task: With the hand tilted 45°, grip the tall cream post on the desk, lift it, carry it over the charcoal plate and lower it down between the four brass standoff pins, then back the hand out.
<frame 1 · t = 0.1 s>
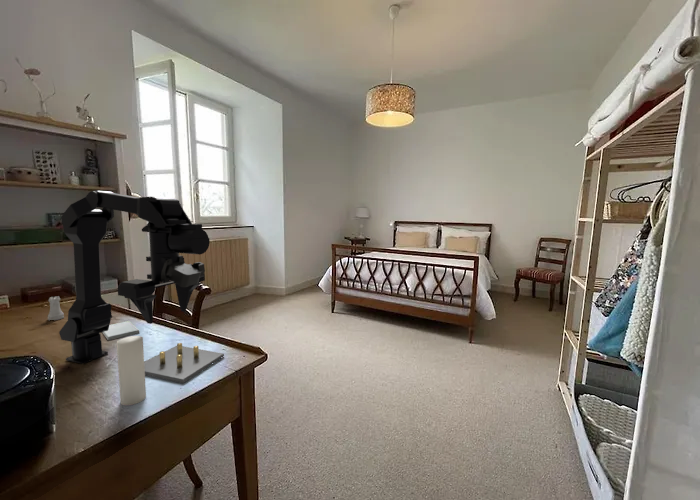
hand: (167, 317, 72), 15 cm above the table, tool pointing down, fingers open, 9 cm apart
charcoal plate: (180, 364, 79), on the table
rook chess piece: (56, 319, 110), on the table
hard drive: (119, 333, 100), on the table
cream post: (133, 399, 64), on the table
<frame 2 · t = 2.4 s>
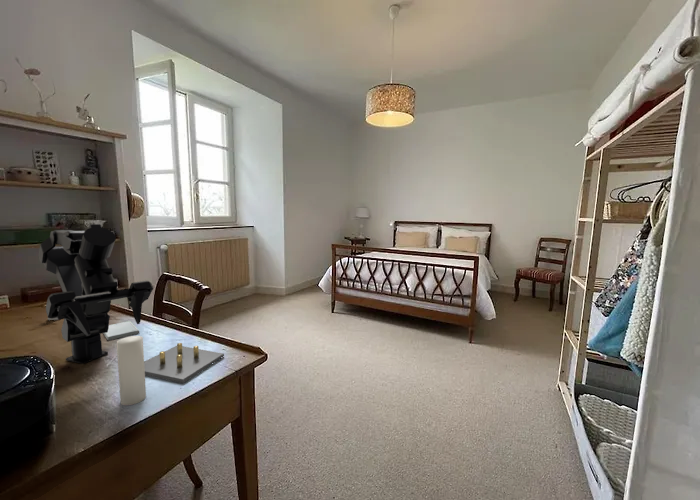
hand: (115, 328, 67), 13 cm above the table, tool tilted 45°, fingers open, 9 cm apart
nothing on the table moved.
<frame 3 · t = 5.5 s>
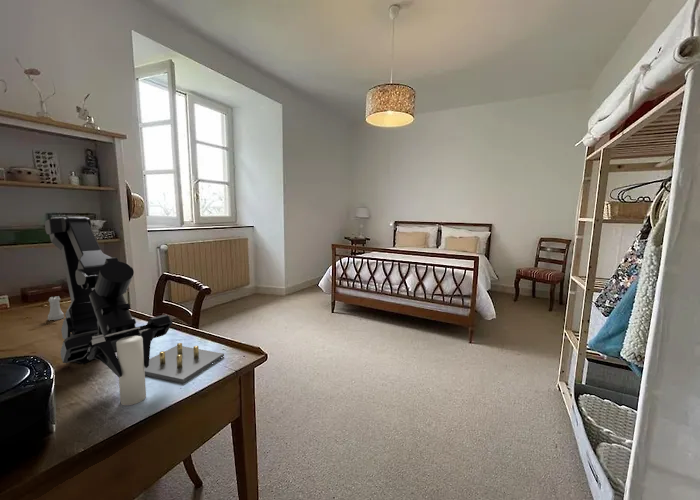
hand: (134, 371, 63), 7 cm above the table, tool tilted 45°, fingers closed on cream post, 4 cm apart
cream post: (133, 399, 64), on the table, touching gripper
everything else where it was.
when the fingers open (9 cm above the table, at t = 10.1 s): cream post drops 1 cm, resting on charcoal plate.
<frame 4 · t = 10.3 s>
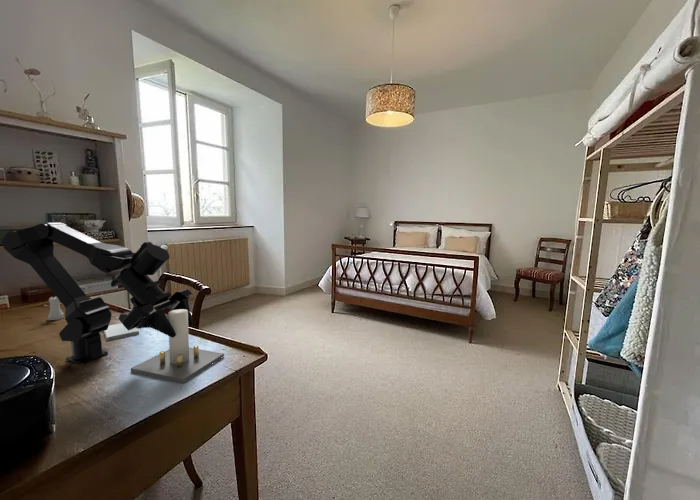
hand: (183, 331, 78), 9 cm above the table, tool tilted 45°, fingers open, 7 cm apart
cream post: (179, 360, 79), point 1 cm above the table, touching charcoal plate
everything else where it was.
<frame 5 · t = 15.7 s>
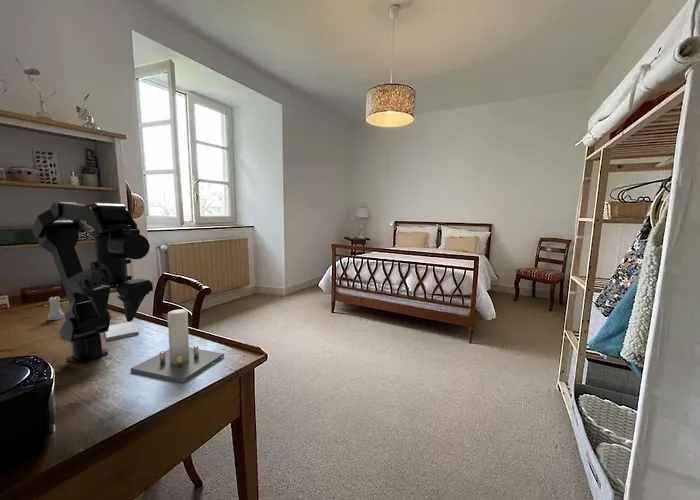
hand: (115, 319, 75), 13 cm above the table, tool pointing down, fingers open, 9 cm apart
nothing on the table moved.
at the end: cream post 0.1 cm off-centre on the charcoal plate, point 1.0 cm above the charcoal plate's base; cream post tilted 0°; the gripper is holding nothing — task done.
